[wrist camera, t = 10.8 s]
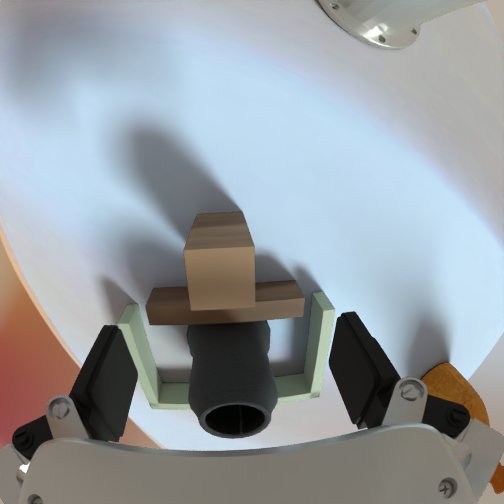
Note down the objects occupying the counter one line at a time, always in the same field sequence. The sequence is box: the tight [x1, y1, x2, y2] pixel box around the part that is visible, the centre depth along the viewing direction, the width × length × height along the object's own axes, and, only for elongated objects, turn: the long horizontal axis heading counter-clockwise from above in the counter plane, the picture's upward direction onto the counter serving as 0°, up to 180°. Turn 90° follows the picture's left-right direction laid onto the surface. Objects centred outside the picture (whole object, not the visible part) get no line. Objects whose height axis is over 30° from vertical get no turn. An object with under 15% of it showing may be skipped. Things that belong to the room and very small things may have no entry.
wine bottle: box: [421, 363, 504, 494], centre depth 24 cm, size 10×10×30 cm
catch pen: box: [118, 292, 335, 410], centre depth 27 cm, size 13×20×4 cm, turn 91°
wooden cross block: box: [145, 212, 305, 325], centre depth 21 cm, size 9×14×9 cm, turn 91°
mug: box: [187, 320, 278, 439], centre depth 24 cm, size 12×9×11 cm
